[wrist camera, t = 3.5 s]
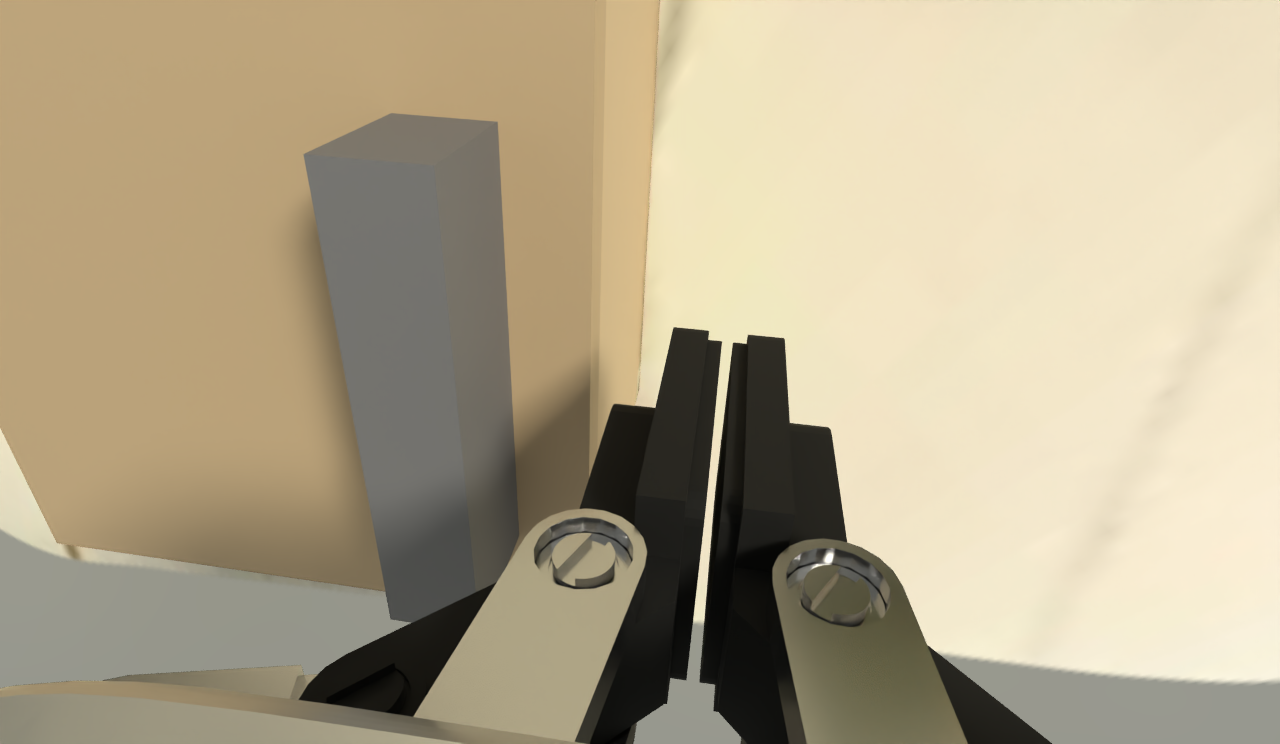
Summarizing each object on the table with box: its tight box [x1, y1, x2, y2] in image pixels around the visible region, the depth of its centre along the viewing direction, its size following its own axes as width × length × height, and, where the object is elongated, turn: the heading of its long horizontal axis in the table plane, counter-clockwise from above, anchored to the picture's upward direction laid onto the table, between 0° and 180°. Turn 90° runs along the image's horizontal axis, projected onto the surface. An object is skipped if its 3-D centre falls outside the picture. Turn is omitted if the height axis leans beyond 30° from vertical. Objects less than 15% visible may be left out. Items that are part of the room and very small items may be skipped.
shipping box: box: [597, 0, 660, 452], centre depth 17 cm, size 12×12×8 cm
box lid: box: [0, 0, 606, 623], centre depth 12 cm, size 12×12×3 cm
